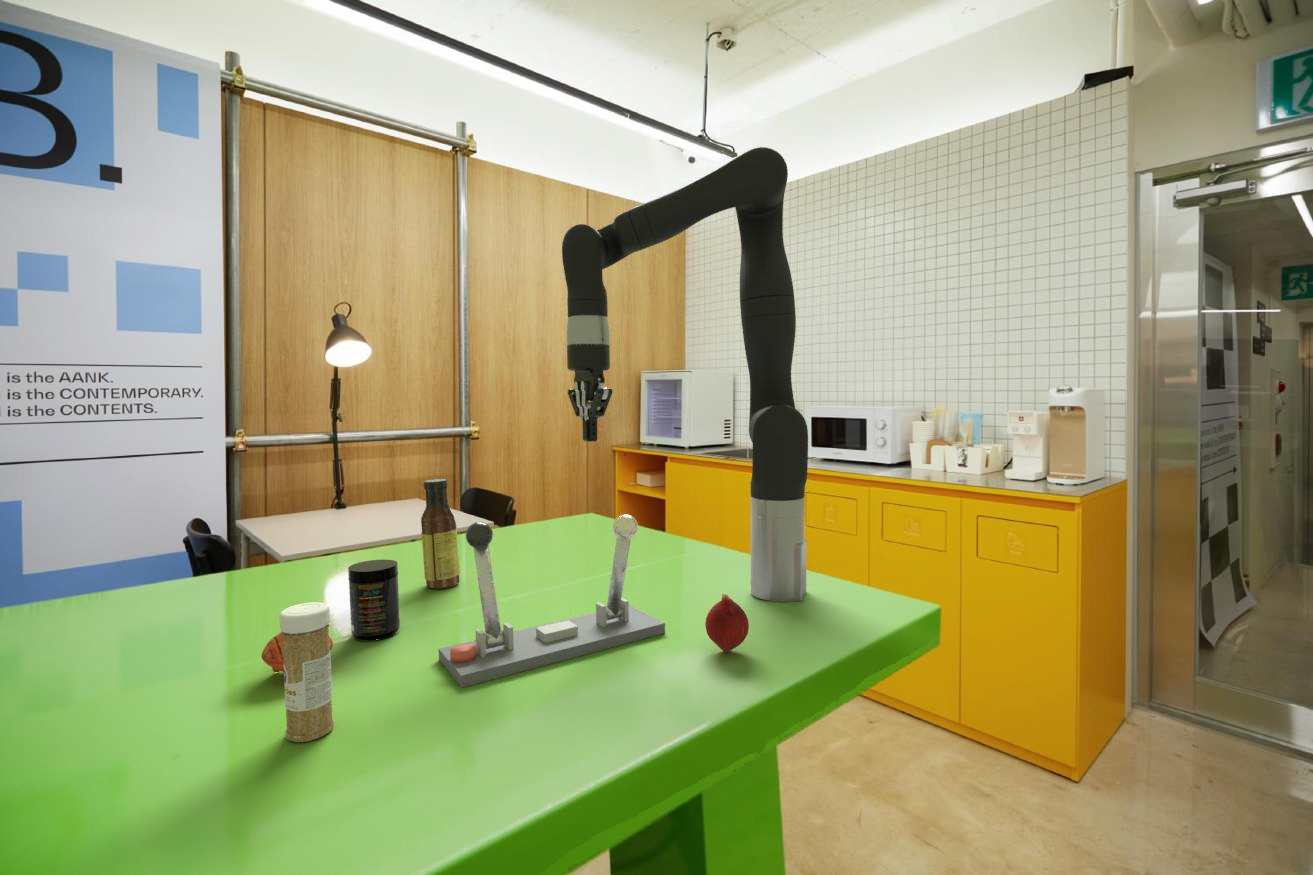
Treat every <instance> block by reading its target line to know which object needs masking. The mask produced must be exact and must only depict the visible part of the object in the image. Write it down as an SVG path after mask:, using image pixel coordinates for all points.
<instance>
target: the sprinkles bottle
mask: <svg viewBox="0 0 1313 875" xmlns="http://www.w3.org/2000/svg"><path fill="white" fill-rule="evenodd" d="M330 613H331V611H330V606H329V605H328V604H327V603H323V602H320V601H319V602H318V601H317V602H315V601H313V602H311V601H310V602H305V603H298V604H295V605H294V604H293V605H291V606H289V607H286V608H284V609H282V611H281V612H280V613H279V630H280V632H281V631H282V632H281V633H282V635H283V652H284V672H283V682H284V706H285V713H286V714H285V716H286V730H285V738H286V739H287V740H288V741H290V742H293V743H305V742H311V741H314V740H316V739H319V738H322V737H324V736H326V735H327V734H329V733H330V732H331V731H332V730H333V728H334V726H335V722H334V719H333V707H332V706H333V704H332V698H333V685H332V661H331V651H330V648H329V637H330V633H329V627H330V622H331V617H330Z"/></svg>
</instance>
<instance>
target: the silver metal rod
mask: <svg viewBox="0 0 1313 875" xmlns="http://www.w3.org/2000/svg"><path fill="white" fill-rule="evenodd" d="M493 537H494V532H493V528H492V527H491V526H490V525H489V524H488V523H486V522H483V521H477V522H474V523H472V524H471V525H469V526H468V528H467V529H466V533H465V539H466V542H467V544H468V545H469V546H471V547H472V548H473V554H474V561H475V569H476V574H477V575H476V576H477V581H478V582H477V583H478V589H479V598H480V603H481V610H482V618H483V624H484V625H483V626H484V633H485V647H486V649H490V648H494V647H498V646H502V645H505V643H506V637H505V633H504V630H503V629H502V628H501V621H500V615H499V614H500V613H499V608H498V602H497V601H498V600H497V594H496V593H497V592H496V587H495V580H494V573H493V566H492V558H491V554H490V553H491V552H490V547H489V546H490V545H489V544H491V542H492V540H493Z"/></svg>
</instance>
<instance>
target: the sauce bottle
mask: <svg viewBox="0 0 1313 875" xmlns="http://www.w3.org/2000/svg"><path fill="white" fill-rule="evenodd" d="M423 488H424V490H425V499H426V501H425V504H426V506H425V509H424V510H423V513H422V515H421V519H420V524H421V542H422V543H421V546H422V557H423V568H424V570H423V571H424V579H425V583H426V587H427V588H428V589H434V590H441V589H443V590H444V589H449V588H452V587H455V586H457V585H458V584H459V583H460V574H461V570H460V568H461V567H460V557H459V545H458V544H459V543H458V542H459V541H458V531H457V528H458V527H457V523H456V519H455V516H454V514H453V513H452V510H451V508H450V506H449V503H448V502H449V499H448V493H447V491H448V490H447V488H448V480H447V479H445V478H435V479H428V480H424V482H423Z"/></svg>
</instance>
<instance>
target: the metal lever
mask: <svg viewBox="0 0 1313 875" xmlns="http://www.w3.org/2000/svg"><path fill="white" fill-rule="evenodd" d="M638 529H639V524H638V522H637V519H636V518H635V517H633V516H632V515H631V514H620V515H618V516H617V517H616V518H614V521H613V522H612V532H613V534H614V536H615V537H616V541H615V546H614V554H613V561H612V566H611V567H612V568H611V575H610V582H609V588H608V595H607V602H606V605H605V606H606V620H611V619H615V618H619V617H622V616H623V608H622V606H621V599H622V598H623V592H624V585H625V579H626V571H627V565H628V558H629V553H630V546H631V540H632V539H633V538H634V537H635V536H636V535H637V533H638V531H639V530H638Z"/></svg>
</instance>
